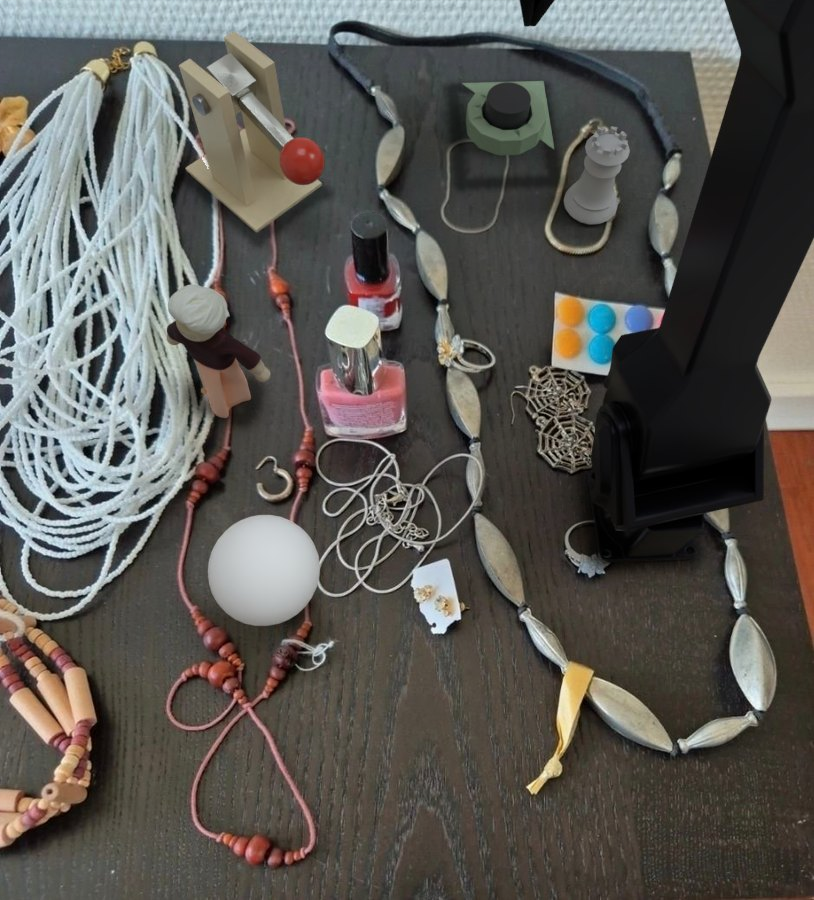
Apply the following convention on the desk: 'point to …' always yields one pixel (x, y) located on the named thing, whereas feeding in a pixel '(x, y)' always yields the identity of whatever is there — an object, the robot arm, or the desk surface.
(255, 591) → the lightbulb
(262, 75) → the switch bracket
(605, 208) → the rook chess piece
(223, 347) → the grandmother figurine
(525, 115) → the black button
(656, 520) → the robot arm
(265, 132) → the switch lever
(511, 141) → the button block
